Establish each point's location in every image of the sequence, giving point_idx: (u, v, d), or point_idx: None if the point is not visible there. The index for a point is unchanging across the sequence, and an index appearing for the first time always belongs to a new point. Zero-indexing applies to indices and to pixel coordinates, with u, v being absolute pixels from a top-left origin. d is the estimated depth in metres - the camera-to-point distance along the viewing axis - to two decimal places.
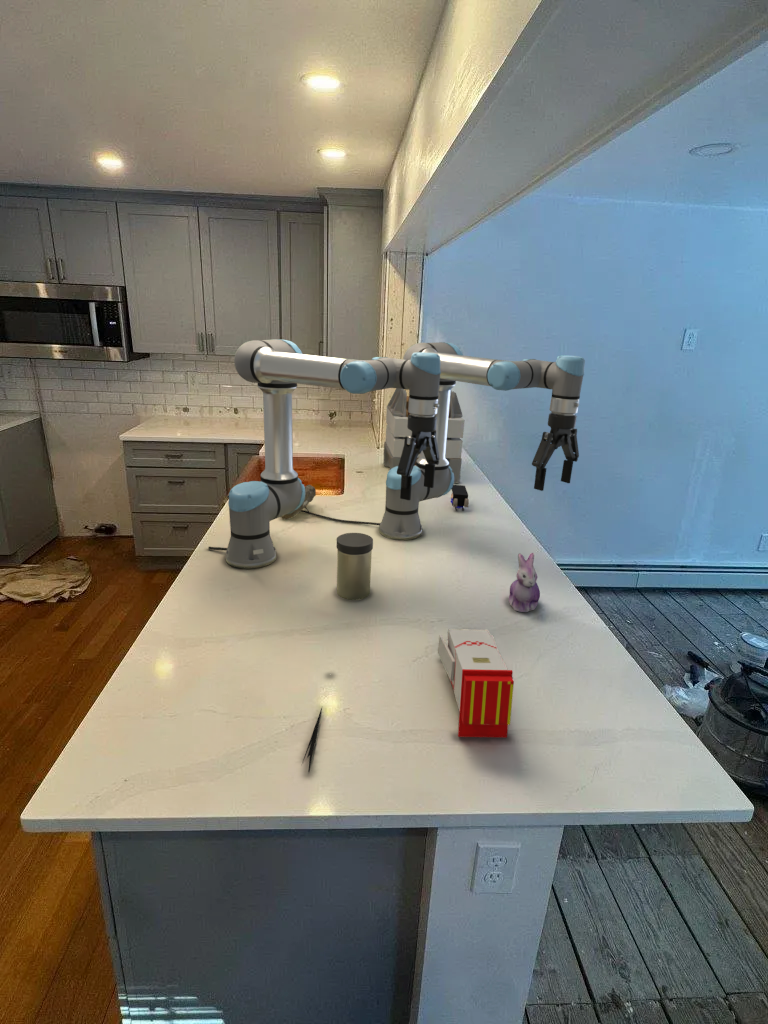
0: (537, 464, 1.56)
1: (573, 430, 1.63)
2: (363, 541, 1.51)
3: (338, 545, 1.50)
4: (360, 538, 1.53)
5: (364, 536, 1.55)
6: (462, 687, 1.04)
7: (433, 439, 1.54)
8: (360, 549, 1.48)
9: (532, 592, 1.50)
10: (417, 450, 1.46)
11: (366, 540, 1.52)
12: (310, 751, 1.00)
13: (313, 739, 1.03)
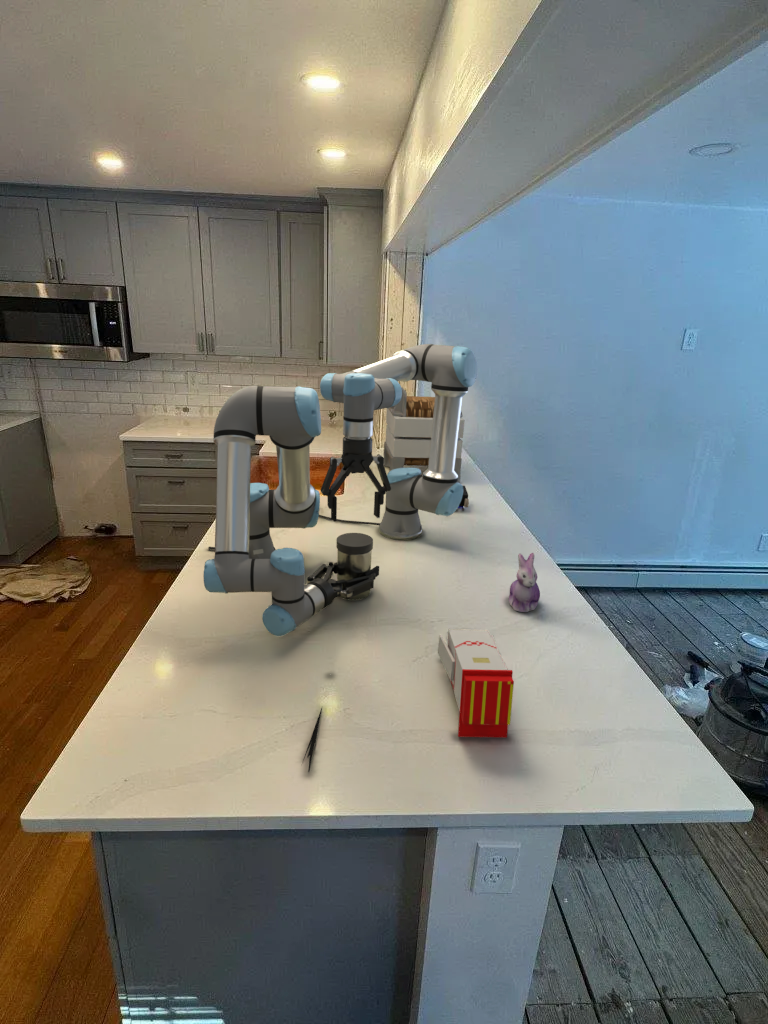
0: None
1: None
2: (363, 541, 1.51)
3: (338, 545, 1.50)
4: (360, 538, 1.53)
5: (364, 536, 1.55)
6: (462, 687, 1.04)
7: None
8: (360, 549, 1.48)
9: (532, 592, 1.50)
10: None
11: (366, 540, 1.52)
12: (310, 751, 1.00)
13: (313, 739, 1.03)
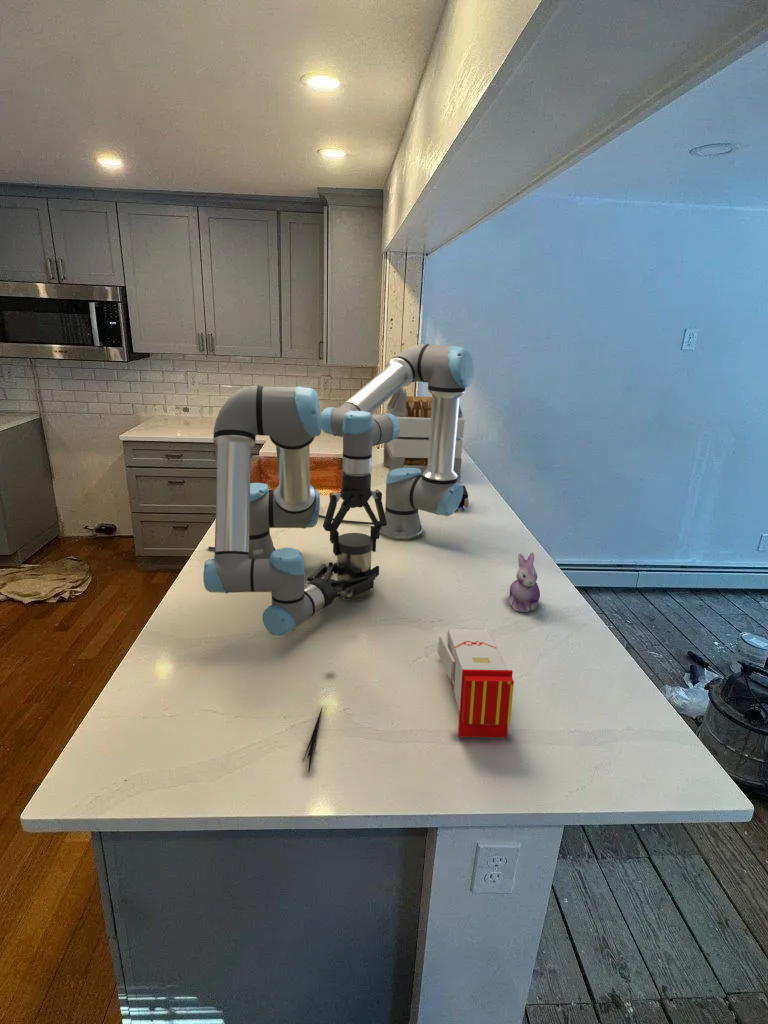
0: None
1: None
2: (363, 541, 1.51)
3: None
4: (360, 538, 1.53)
5: (364, 536, 1.55)
6: (462, 687, 1.04)
7: None
8: (360, 549, 1.48)
9: (532, 592, 1.50)
10: None
11: (366, 540, 1.52)
12: (310, 751, 1.00)
13: (313, 739, 1.03)
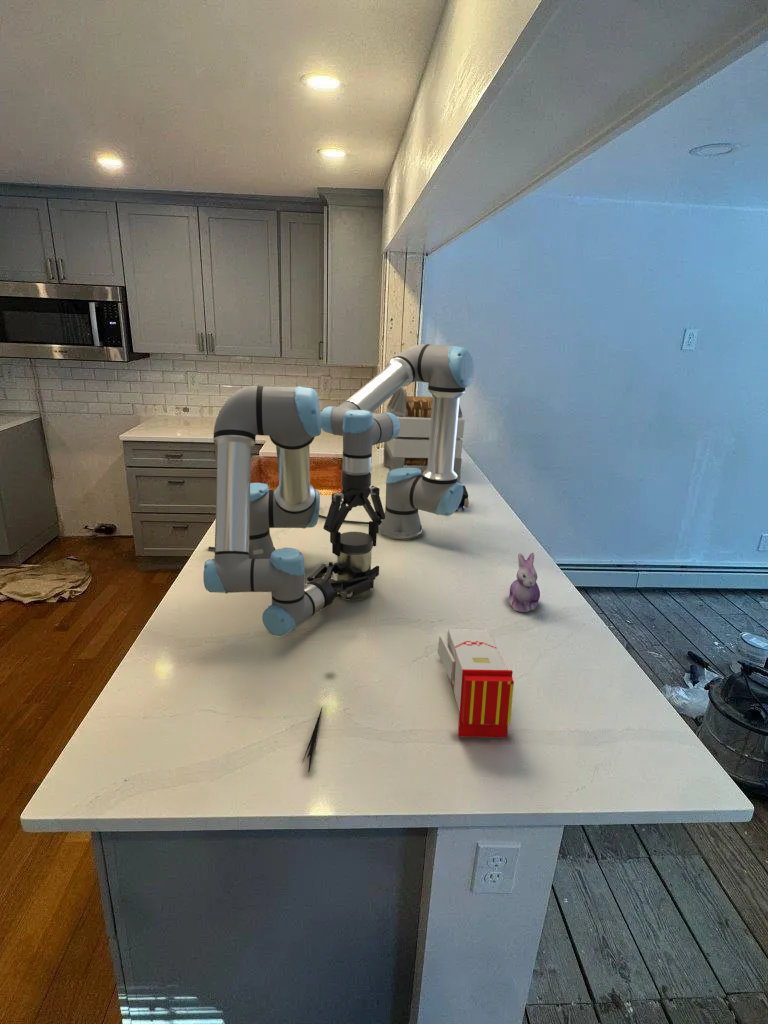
0: None
1: None
2: (357, 534, 1.55)
3: (366, 547, 1.49)
4: (350, 536, 1.53)
5: (344, 535, 1.54)
6: (462, 687, 1.04)
7: None
8: None
9: (532, 592, 1.50)
10: None
11: (354, 533, 1.55)
12: (310, 751, 1.00)
13: (313, 739, 1.03)
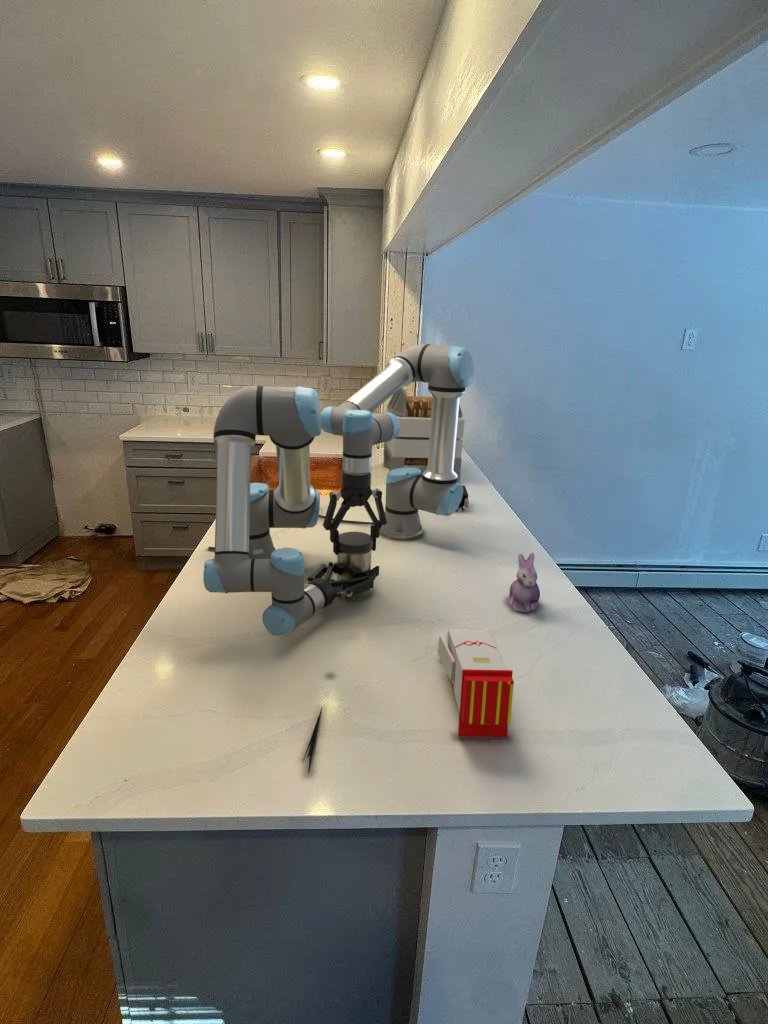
0: None
1: None
2: (357, 534, 1.55)
3: (366, 547, 1.49)
4: (350, 536, 1.53)
5: (344, 535, 1.54)
6: (462, 687, 1.04)
7: None
8: None
9: (532, 592, 1.50)
10: None
11: (354, 533, 1.55)
12: (310, 751, 1.00)
13: (313, 739, 1.03)
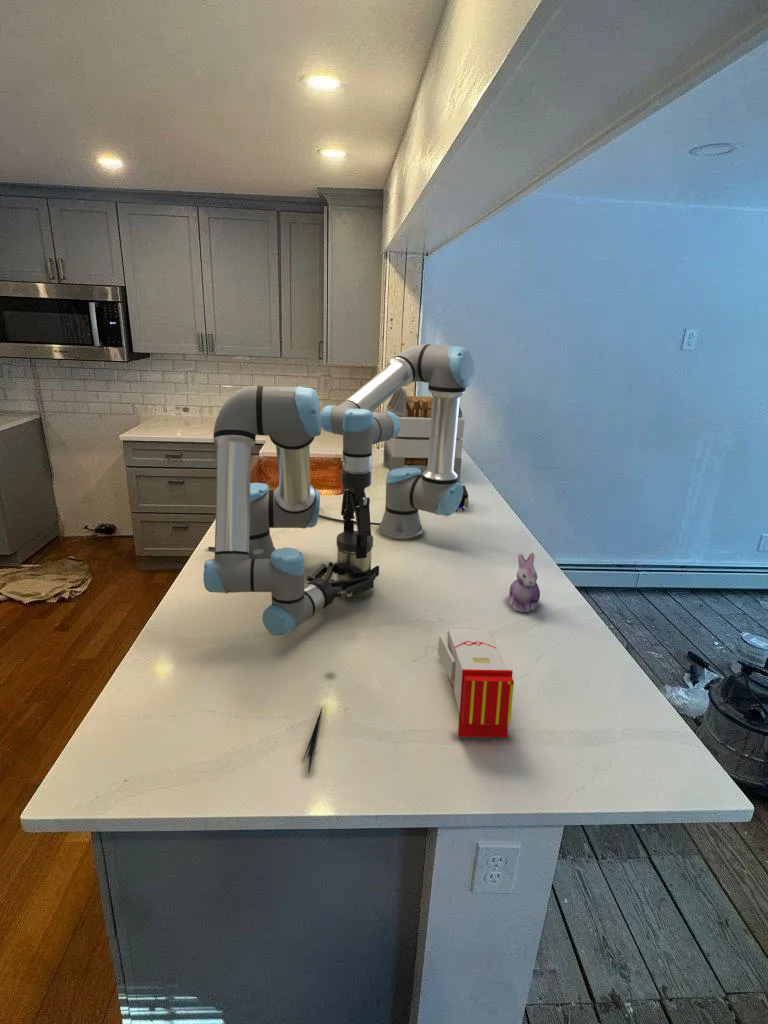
0: None
1: None
2: (345, 536, 1.53)
3: None
4: (350, 538, 1.51)
5: (347, 541, 1.49)
6: (462, 687, 1.04)
7: None
8: None
9: (532, 592, 1.50)
10: None
11: (343, 537, 1.52)
12: (310, 751, 1.00)
13: (313, 739, 1.03)
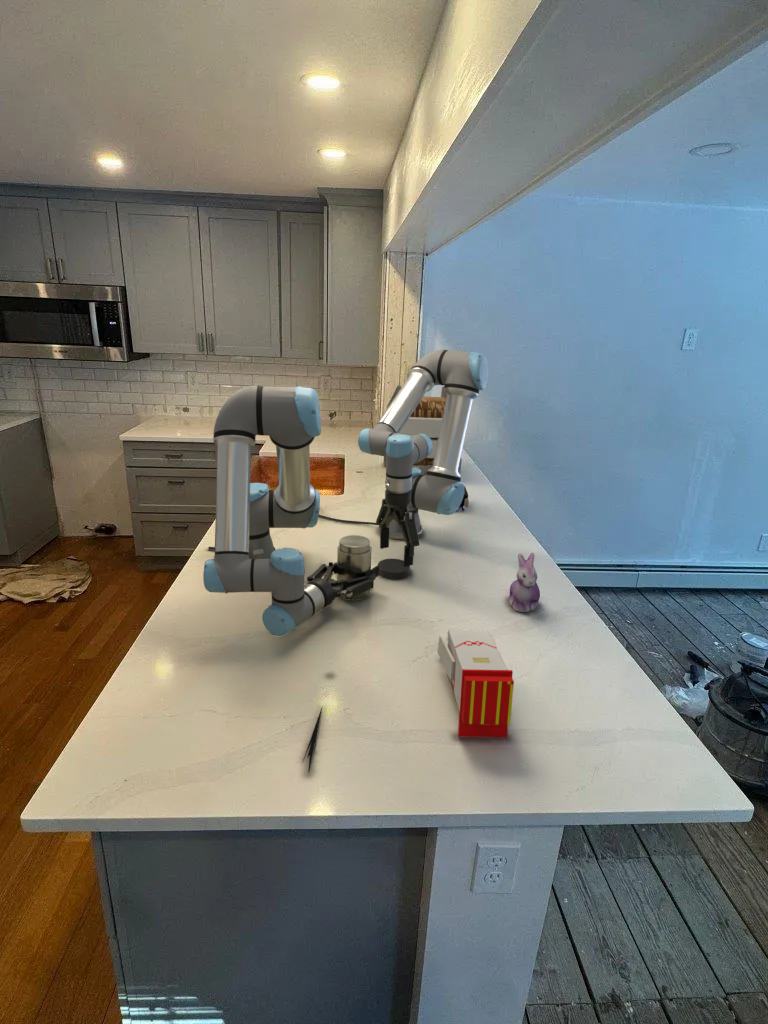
0: None
1: None
2: (385, 564, 1.70)
3: None
4: (390, 567, 1.69)
5: (388, 569, 1.67)
6: (462, 687, 1.04)
7: None
8: None
9: (532, 592, 1.50)
10: None
11: (383, 566, 1.69)
12: (310, 751, 1.00)
13: (313, 739, 1.03)
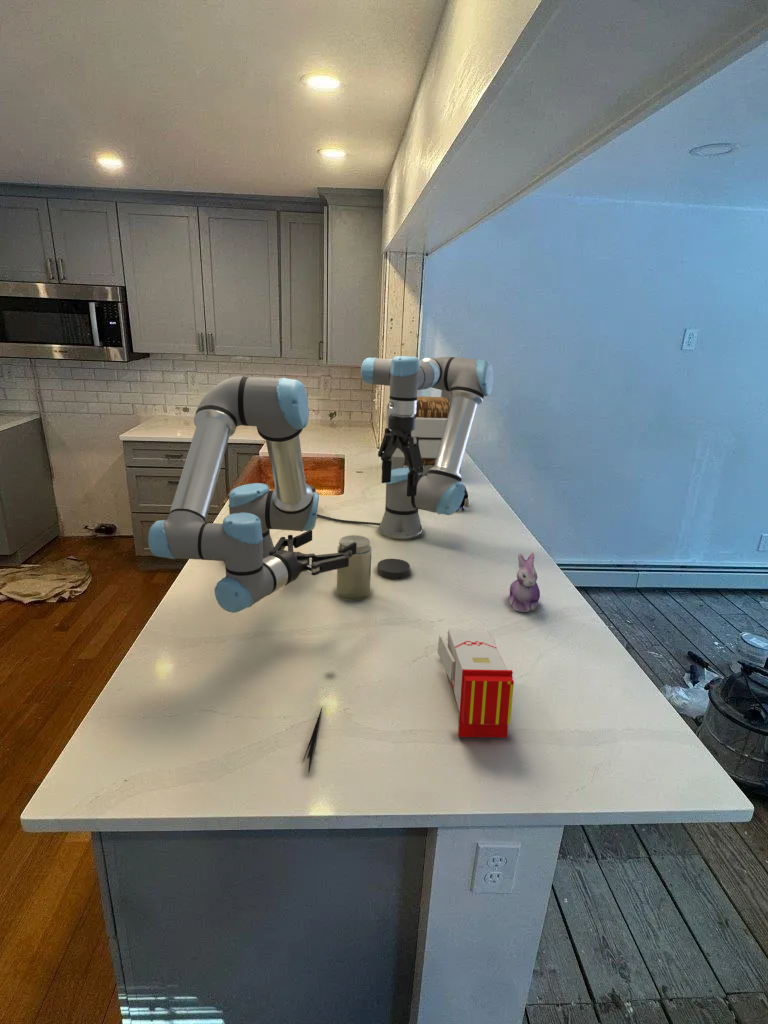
0: None
1: None
2: (385, 564, 1.70)
3: None
4: (390, 567, 1.69)
5: (388, 569, 1.67)
6: (462, 687, 1.04)
7: None
8: None
9: (532, 592, 1.50)
10: None
11: (383, 566, 1.69)
12: (310, 751, 1.00)
13: (313, 739, 1.03)
